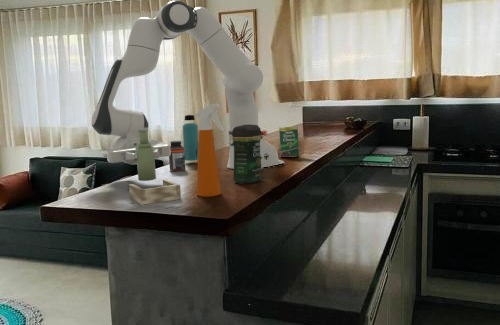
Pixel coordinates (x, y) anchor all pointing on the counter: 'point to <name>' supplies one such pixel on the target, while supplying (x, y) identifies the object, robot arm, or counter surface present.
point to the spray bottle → (207, 153)
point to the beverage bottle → (190, 139)
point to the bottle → (145, 157)
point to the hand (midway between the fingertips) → (146, 155)
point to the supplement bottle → (177, 157)
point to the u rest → (155, 193)
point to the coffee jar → (247, 154)
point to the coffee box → (289, 141)
